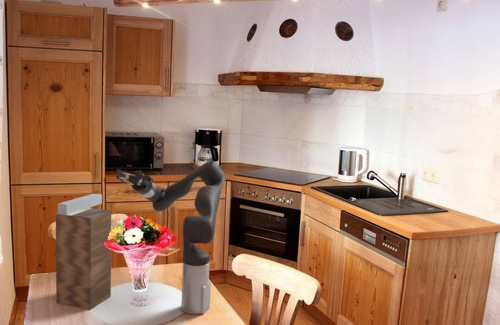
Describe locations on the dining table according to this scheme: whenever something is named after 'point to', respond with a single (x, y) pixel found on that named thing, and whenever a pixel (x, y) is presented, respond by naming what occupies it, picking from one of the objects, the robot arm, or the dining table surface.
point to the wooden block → (83, 258)
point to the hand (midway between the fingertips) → (126, 172)
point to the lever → (79, 204)
